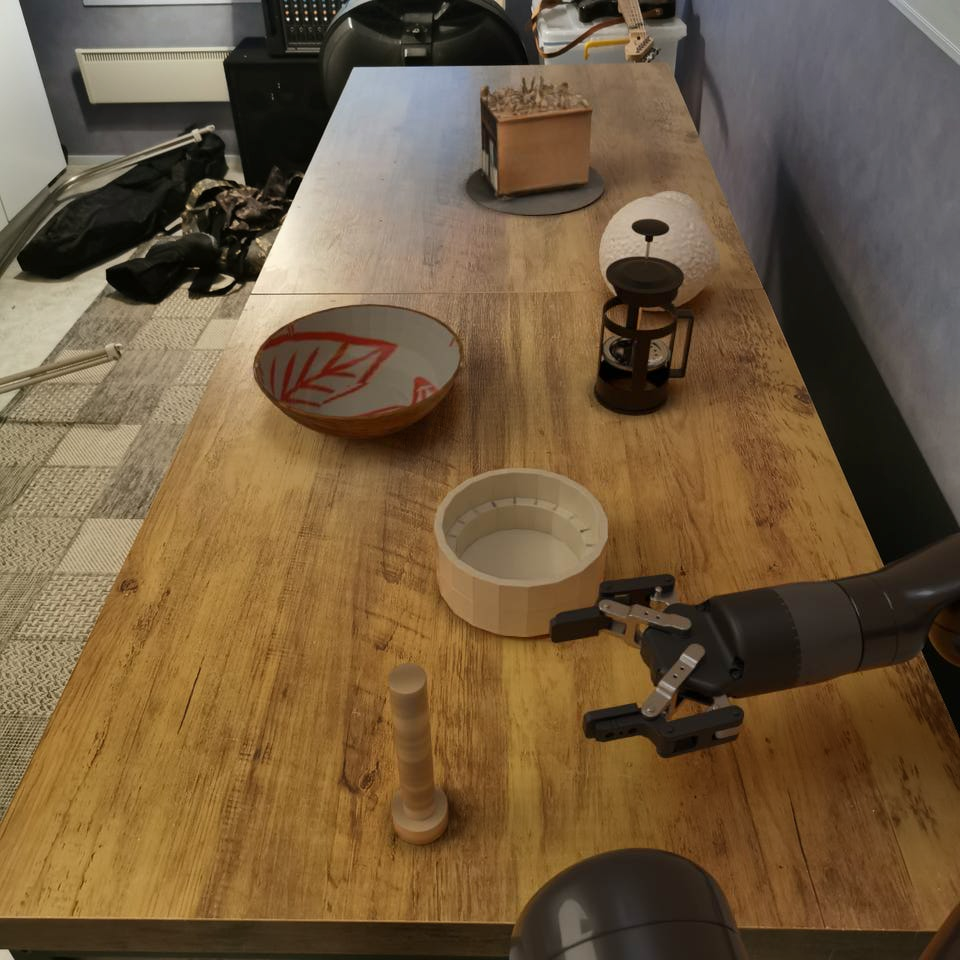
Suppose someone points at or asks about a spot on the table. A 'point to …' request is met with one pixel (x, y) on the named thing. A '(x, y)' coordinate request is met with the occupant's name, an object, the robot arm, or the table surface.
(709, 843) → the table surface
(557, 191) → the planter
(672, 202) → the decorative orb
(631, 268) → the french press
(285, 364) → the bowl
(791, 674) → the robot arm
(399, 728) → the wooden pestle
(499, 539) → the cream open cylinder
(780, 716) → the table surface
